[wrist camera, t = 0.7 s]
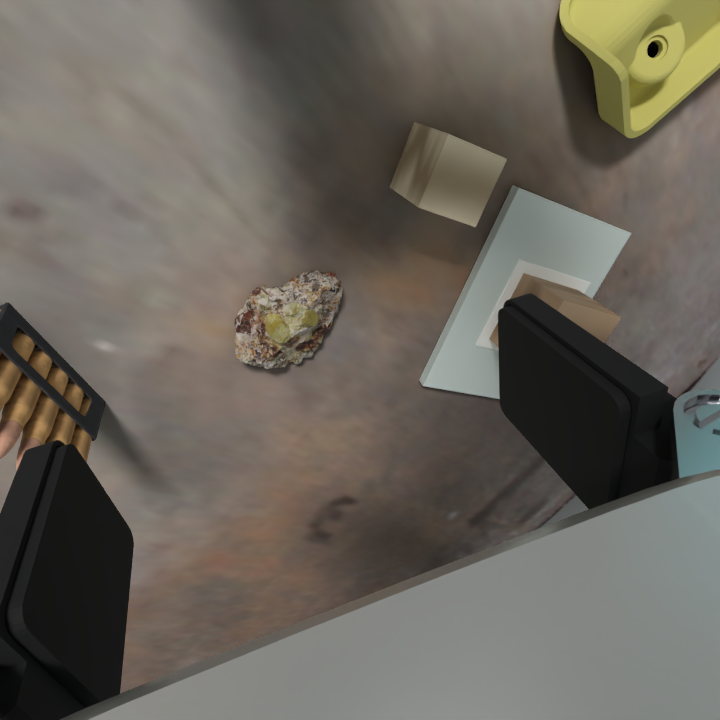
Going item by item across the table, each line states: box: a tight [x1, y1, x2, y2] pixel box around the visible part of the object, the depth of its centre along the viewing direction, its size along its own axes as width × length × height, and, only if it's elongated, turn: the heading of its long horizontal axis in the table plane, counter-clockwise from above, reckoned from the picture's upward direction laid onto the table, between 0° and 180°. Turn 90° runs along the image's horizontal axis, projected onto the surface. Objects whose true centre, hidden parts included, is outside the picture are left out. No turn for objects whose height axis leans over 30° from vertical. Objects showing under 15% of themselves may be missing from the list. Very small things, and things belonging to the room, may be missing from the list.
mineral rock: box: [235, 271, 343, 369], centre depth 43 cm, size 11×4×8 cm
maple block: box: [390, 122, 507, 227], centre depth 38 cm, size 5×5×6 cm
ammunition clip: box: [0, 303, 105, 470], centre depth 35 cm, size 11×2×12 cm, turn 23°
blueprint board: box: [419, 185, 631, 399], centre depth 50 cm, size 20×14×1 cm
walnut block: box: [489, 273, 621, 347], centre depth 47 cm, size 7×7×6 cm
